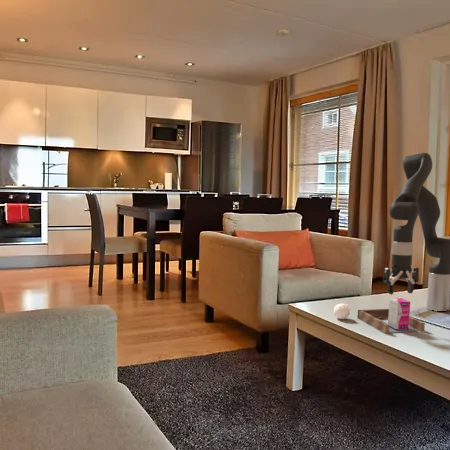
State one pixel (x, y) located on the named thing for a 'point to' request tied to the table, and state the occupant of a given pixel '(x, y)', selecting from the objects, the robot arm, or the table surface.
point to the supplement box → (399, 314)
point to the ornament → (341, 311)
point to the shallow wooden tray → (372, 320)
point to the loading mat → (402, 330)
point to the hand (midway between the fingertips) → (400, 293)
